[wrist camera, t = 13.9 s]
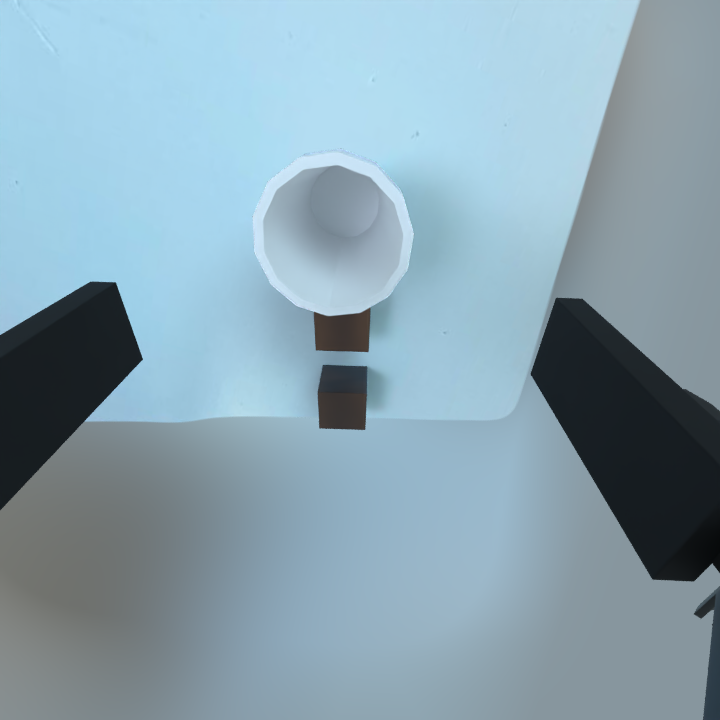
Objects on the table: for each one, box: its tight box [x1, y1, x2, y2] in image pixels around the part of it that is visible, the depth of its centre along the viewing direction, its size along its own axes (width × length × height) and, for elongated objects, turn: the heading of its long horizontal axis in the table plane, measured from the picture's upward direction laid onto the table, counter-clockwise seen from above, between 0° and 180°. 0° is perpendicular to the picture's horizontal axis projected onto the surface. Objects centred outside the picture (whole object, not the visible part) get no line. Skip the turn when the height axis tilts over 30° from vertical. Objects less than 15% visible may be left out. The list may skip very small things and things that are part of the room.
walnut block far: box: [318, 365, 367, 430], centre depth 42 cm, size 5×5×5 cm
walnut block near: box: [314, 308, 370, 352], centre depth 36 cm, size 5×5×5 cm
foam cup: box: [253, 149, 414, 316], centre depth 28 cm, size 10×9×13 cm
